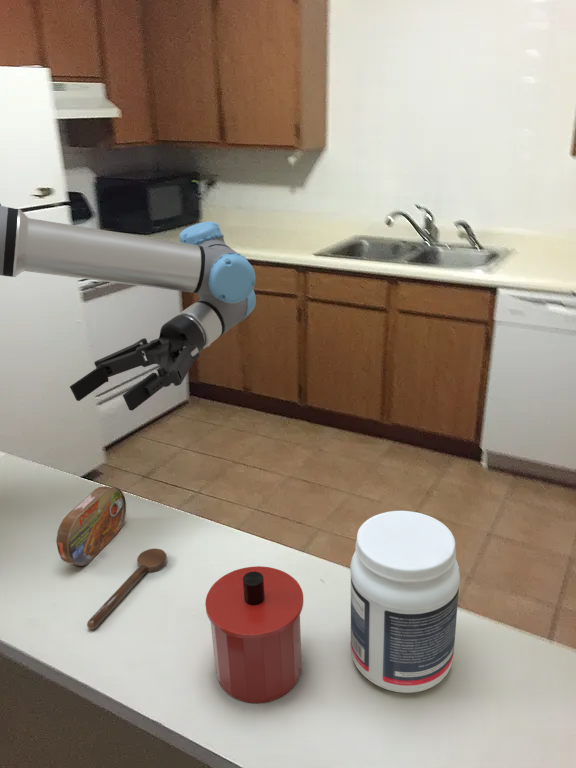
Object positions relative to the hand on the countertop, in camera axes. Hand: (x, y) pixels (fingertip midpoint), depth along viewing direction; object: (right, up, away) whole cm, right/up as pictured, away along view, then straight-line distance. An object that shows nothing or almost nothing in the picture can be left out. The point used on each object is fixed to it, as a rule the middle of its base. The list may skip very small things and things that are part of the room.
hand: (99, 398), depth 104 cm
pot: (+26, -33, -20) cm, 47 cm away
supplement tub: (+43, -32, -19) cm, 58 cm away
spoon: (+6, -27, -5) cm, 29 cm away
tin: (-2, -24, +4) cm, 24 cm away
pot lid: (+25, -24, -24) cm, 42 cm away
